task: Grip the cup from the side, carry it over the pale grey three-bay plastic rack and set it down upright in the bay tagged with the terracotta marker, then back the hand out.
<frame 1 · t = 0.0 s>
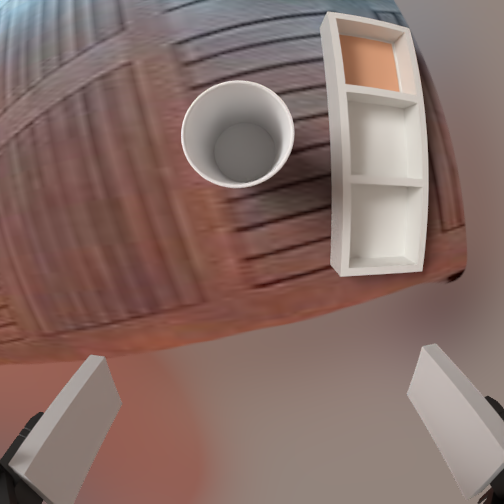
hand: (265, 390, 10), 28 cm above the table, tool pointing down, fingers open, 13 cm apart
cup: (244, 152, 35), on the table
bay rack: (372, 140, 34), on the table
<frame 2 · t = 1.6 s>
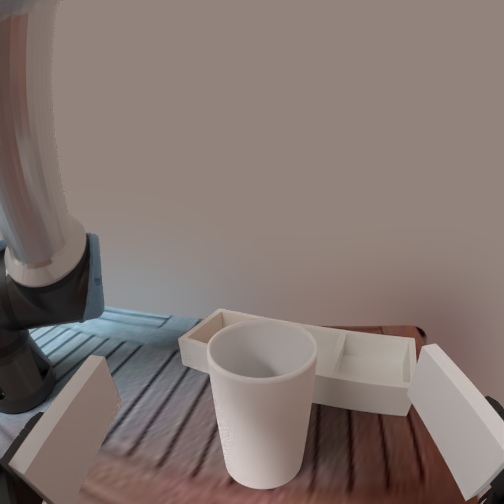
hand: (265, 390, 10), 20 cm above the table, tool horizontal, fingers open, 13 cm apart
cup: (263, 460, 24), on the table
bay rack: (297, 371, 40), on the table
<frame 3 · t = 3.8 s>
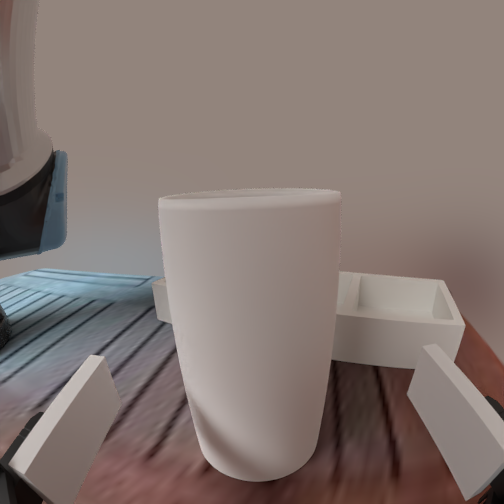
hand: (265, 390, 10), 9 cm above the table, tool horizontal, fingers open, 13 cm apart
cup: (258, 437, 17), on the table
bay rack: (302, 324, 32), on the table
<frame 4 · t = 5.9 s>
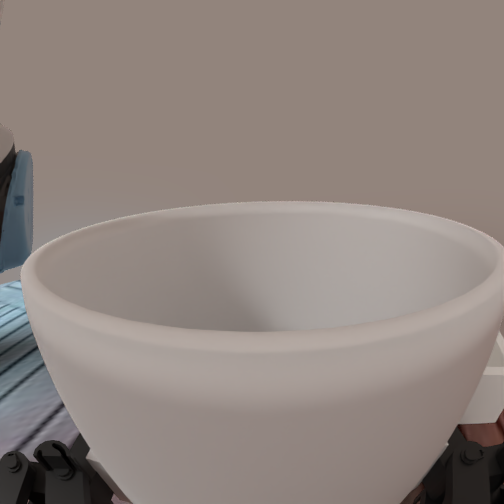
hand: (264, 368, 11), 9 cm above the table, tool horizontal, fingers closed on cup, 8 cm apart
bay rack: (319, 365, 25), on the table
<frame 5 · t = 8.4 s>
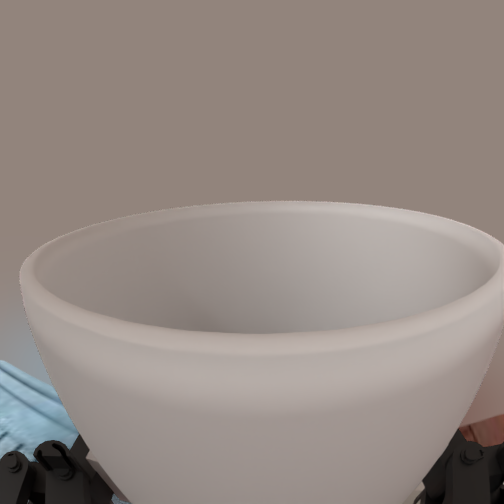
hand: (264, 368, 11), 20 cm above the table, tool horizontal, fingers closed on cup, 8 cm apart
when the fingers open (11 cm above the table, at t = 11.2 s): cup drops 1 cm, resting on bay rack.
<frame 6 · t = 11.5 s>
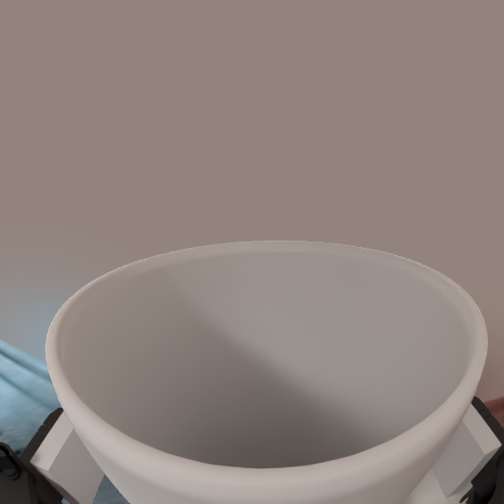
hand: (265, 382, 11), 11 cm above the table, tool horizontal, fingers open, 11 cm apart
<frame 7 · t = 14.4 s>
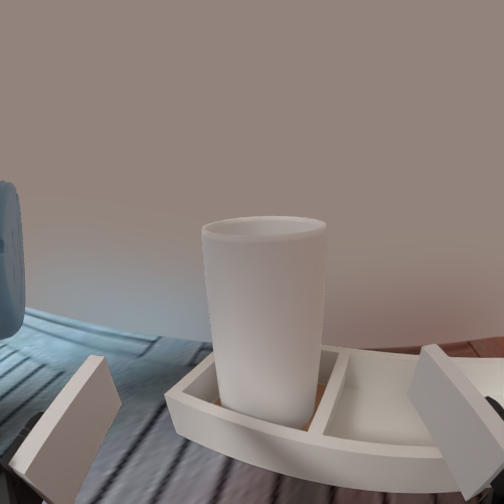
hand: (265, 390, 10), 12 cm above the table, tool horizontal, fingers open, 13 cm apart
cup: (268, 407, 23), point 1 cm above the table, touching bay rack
bay rack: (385, 435, 18), on the table
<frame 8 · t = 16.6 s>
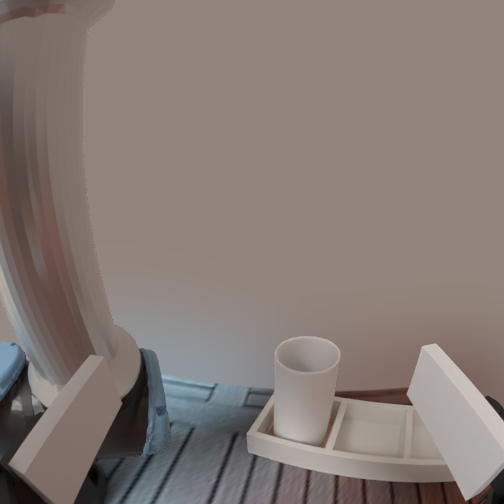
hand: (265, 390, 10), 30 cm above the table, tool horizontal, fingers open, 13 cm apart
cup: (299, 432, 37), point 1 cm above the table, touching bay rack
bay rack: (366, 448, 33), on the table
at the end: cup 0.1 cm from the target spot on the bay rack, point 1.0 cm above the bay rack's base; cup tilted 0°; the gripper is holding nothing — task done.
